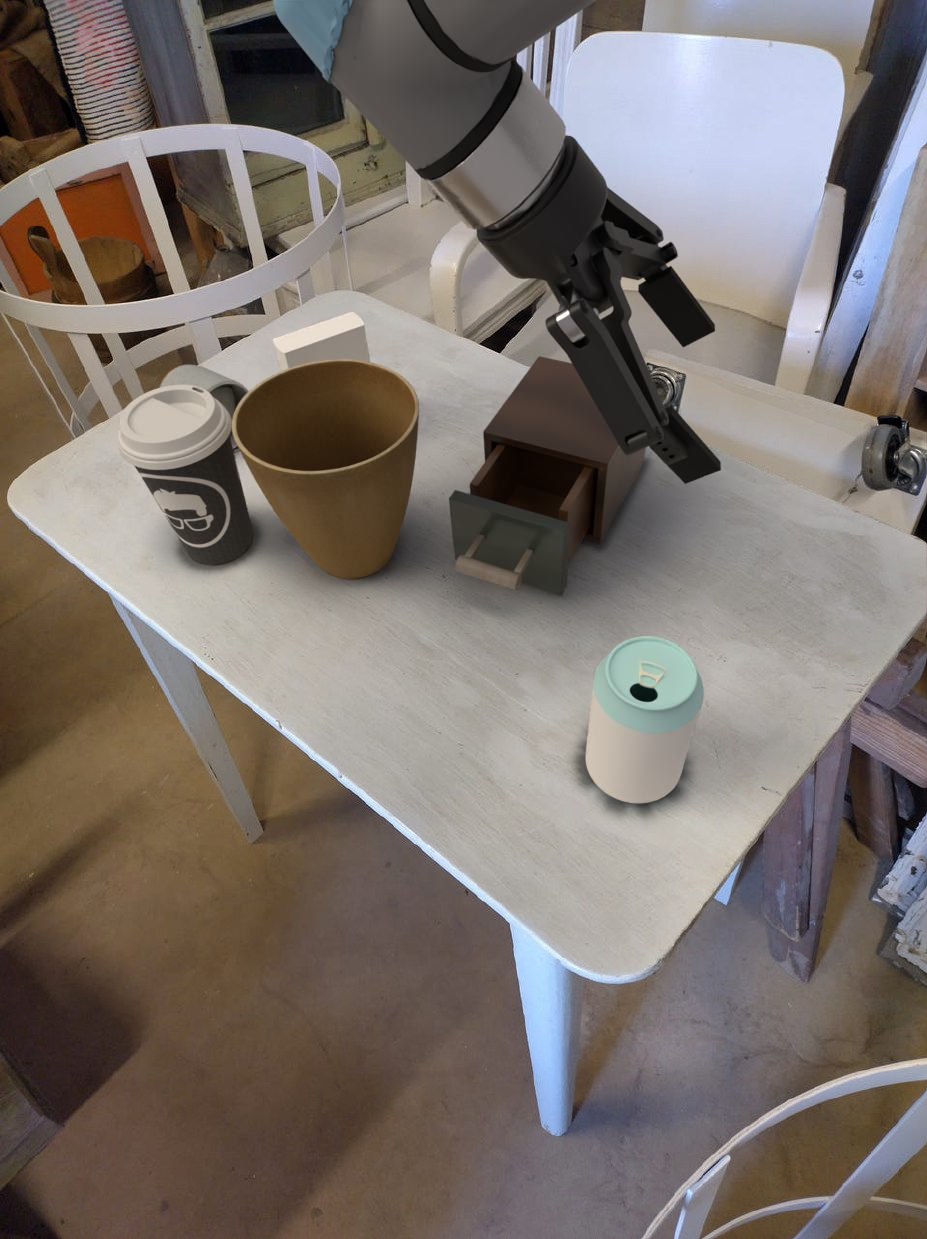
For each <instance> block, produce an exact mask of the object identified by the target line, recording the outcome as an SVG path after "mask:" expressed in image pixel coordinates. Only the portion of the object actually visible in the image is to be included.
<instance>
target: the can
mask: <svg viewBox="0 0 927 1239" xmlns="http://www.w3.org/2000/svg"><path fill="white" fill-rule="evenodd" d="M593 676H594V677H593V683H592V692H591V700H590V701H591V702H590V711H589V718H588V729H587V738H586V748H585V765H586V769H587V772H588V775H589V776H590V778H591V780H592V781H593V782H594V784H595V785H596V786H597V787H598V788H599V789H600V790H601V791H603V792H604V794H606V795H608V796H610V797H612V798H614V799H616V800H618V801H622V802H625V803H629V804H630V803H631V804H647V803H648V804H649V803H652V802H655V801H659V800H661V799H662V798H664V797H666V796H667V795H668V794H670V793H671V792H672V791H673V790H674V789H675V788H676V786H677V785H678V783H679V781H680V779H681V777H682V773H683V769H684V766H685V762H686V759H687V756H688V753H689V750H690V749H689V748H690V746H691V744H692V739H693V736H694V732H695V730H696V725H697V722H698V719H699V716H700V712H701V709H702V705H703V702H704V697H705V696H704V694H705V691H704V690H705V688H704V684H703V680H702V677H701V675H700V672H699V671H698V668H697V666H696V663H695V661H694V659H693V658H692V656H691V655H690V654H689V653H688V652H687V651H686V650H685V649H684V648H683V647H682V646H681V645H678V644H677V643H675V642H673V641H671V640H669V639H667V638H663V637H659V636H653V635H643V636H642V635H640V636H634V637H630V638H628V639H625V640H624V641H622V642H620V643H618V644H617V645H616V646H615V647H614V648H613V649H612V650H611V651H610V652H609V653H608V654H607V655H605V657H604V658H603V659H602V660H601V662H600V663H599V664H598V666H597V668H596V670H595V672H594V675H593Z"/></svg>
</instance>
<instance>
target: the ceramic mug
mask: <svg viewBox="0 0 927 1239" xmlns="http://www.w3.org/2000/svg"><path fill="white" fill-rule="evenodd" d="M171 385H192V386H197V387H200V388H202V389H204V390H206V391H208V392H209V393H210V394H211V395H212V396H213V398H215V399H217V400H218V401H219V402H220V403H221V404H222V405H223V406H224V407H225V409H226V410H227V411H228V413H229V414H230V416H231V419H233V415H234V412H235V410H236V408H237V406H238V404H239V402H240V401H241V400H242V398H243V397H244V396H245V395H246V394H247V393H248V392H249V391H250V390H249V389H248V388H247V387H245V385H243V384H242V383H240V382H239V381H237V380H235V379H232V378H229V377H228V376H225V375H223V374H221V373H218V372H217V371H213V370H211V369H209V368H206V367H204V366H202V365H195V364H182V365H179V366H176V367H174V368H172V369H171V370H170V371H168V373H166V374H165V375H164V377H163V379H162V380H161V382H160V384H159V387H158V388H161V387H165V386H171ZM230 438H231V443H232V447H233V450H234V449H236V448H238V446H237V443H236V441H235V439H234V436H233V432H232V428H231V432H230Z"/></svg>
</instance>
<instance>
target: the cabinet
mask: <svg viewBox="0 0 927 1239" xmlns="http://www.w3.org/2000/svg"><path fill="white" fill-rule="evenodd" d="M653 382H654V384H655V385H656V382H655V381H654V380H653ZM482 433H483V434H482V436H483V437H482V438H483V451H484V452H483V454H484V462H485V461H486V460H487V459H488V457H489V456H490V454H491V453H492V452H493V450H494V449H495V447H496V446H497V445H498V443H502V444H506V445H510V446H514V447H518V448H522V449H526V450H529V451H533V452H537V453H541V454H545V455H549V456H552V457H556V458H560V459H564V460H568V461H572V462H575V463H579V464H583V465H587V466H591V467H595V468H598V479H597V491H596V503H595V515H594V520H593V522H592V524H591V526H590V528H589V529H588V531H587V533H586V535H585V537H584V538H583V541H588V542H591V543H595V544H596V545H597V544H598V545H601V544H602V542H603V540H604V538H605V536H606V535H607V532H608V531H609V528H610V527H611V524H612V523H613V521H614V519H615V517H616V515H617V514H618V511H619V510H620V508H621V506H622V504H623V502H624V501H625V498H626V497H627V495H628V493H629V491H630V489H631V487H632V485H633V483H634V482H635V480H636V478H637V476H638V474H639V472H640V470H641V469H642V467H643V464H644V462H645V455H646V448H647V447H646V448H644V449H642V450H640V451H637V452H635V453H633V454H631V455H626V454H624V452H623V451H622V449H621V447H620V446H619V444H618V442H617V440H616V439H615V437H614V435H613V434H612V432H611V430H610V428H609V427H608V425H607V423H606V421H605V420H604V418H603V416H602V414H601V413H600V411H599V409H598V407H597V406H596V404H595V402H594V401H593V399H592V397H591V395H590V394H589V392H588V390H587V388H586V387H585V385H584V383H583V381H582V380H581V378H580V376H579V374H578V373H577V371H576V369H575V368H574V366H573V364H572V362H569V361H563V360H557V359H554V358H550V357H544V356H540V355H539V356H537V358H536V359H535V361H534V362H533V363H532V365H531V366H530V367H529V369H528V370H527V371H526V373H525V374H524V375H523V377H522V379H521V380H520V381H519V382H518V384H517V385H516V386H515V387H514V389H513V391H512V392H511V393H510V394H509V396H508V397H507V398H506V400H505V402H504V403H503V404H502V405H501V406H500V408H499V409H498V411H497V412H496V414H494V416H493V418H492V419H491V420H490V422H489V423H488V424H487V426H486V427H485V428H484V430H483V432H482Z"/></svg>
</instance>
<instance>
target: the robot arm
mask: <svg viewBox="0 0 927 1239" xmlns="http://www.w3.org/2000/svg"><path fill="white" fill-rule="evenodd" d="M595 2H597V0H272V5H273V9H274V11H275V14H276V17H277V18H278V20H279V21H280V23H281V24H282V25H283V27H284V28H285V29H286V30H287V32H288V33H289V34H290V36H292V38H293V39H294V40H295V41H296V43H297V44H298V45H299V47H301V49H302V50H303V51H304V53H305V54H306V55H307V56H308V57H309V59H310V60H311V61H312V63H313V64H314V65H315V67H317V68H318V70H319V72H320V73H321V74H322V78H323V79H324V80H325V81H326V82H327V83H328V84H332V85H333V86H334V88H336V89H337V90H338V91H339V92H340V93H341V94H342V95H343V96H344V97H345V98H346V99H347V101H349V103H351V104H352V105H353V106H354V108H355V109H356V110H357V111H358V112H359V113H360V114H361V115H362V116H363V117H364V118H365V119H366V121H368V122H369V123H370V124H371V126H372V127H373V128H374V129H375V130H376V131H377V132H378V134H380V136H382V137H383V139H385V140H386V142H388V143H389V145H390V146H391V147H392V148H393V149H394V150H395V151H396V152H397V153H398V154H399V156H401V158H402V159H404V160H405V162H406V163H407V164H408V165H409V166H410V167H411V168H412V169H413V170H414V171H415V173H416V174H417V175H418V176H419V177H420V178H421V179H423V180H424V181H425V182H426V183H427V184H426V185H427V188H428V191H429V192H430V194H432V195H433V196H438V197H439V198H440V199H441V200H442V202H444V203H445V204H446V205H447V207H449V209H450V210H451V211H452V212H453V213H454V214H455V215H456V217H458V218H459V220H461V222H462V223H463V224H464V225H465V226H466V227H467V228H468V229H472V230H476V237H477V240H478V242H479V243H480V244H481V245H482V246H483V247H484V248H485V249H486V250H487V252H488V253H490V254H491V256H492V257H493V258H494V259H495V260H496V261H497V262H498V264H500V265H501V266H502V267H503V269H504V270H505V271H506V272H507V273H508V274H509V275H511V276H512V277H513V278H516V279H521V280H528V279H529V280H530V279H533V280H535V279H536V280H542V281H544V282H546V285H547V286H548V288H549V289H550V290H551V292H552V294H553V296H554V297H555V299H556V301H557V303H558V304H559V307H558V311H556V312H555V313H553V314H552V315H550V316H549V317H547V318H545V320H544V321H545V327H546V330H547V332H548V333H549V335H550V336H551V337H552V338H553V340H554V341H555V342H556V343H557V344H558V345H559V347H560V348H561V349H562V350H563V351H564V353H565V354H566V356H567V357H568V359H569V360H570V363H572V364H573V366H574V368H575V369H576V371H577V373H578V374H579V376H580V378H581V380H582V381H583V383H584V385H585V387H586V388H587V390H588V392H589V394H590V395H591V397H592V399H593V401H594V402H595V404H596V406H597V407H598V409H599V411H600V413H601V414H602V416H603V418H604V420H605V421H606V423H607V425H608V427H609V428H610V430H611V432H612V434H613V435H614V437H615V439H616V440H617V442H618V444H619V446H620V447H621V449H622V451H623V452H624V454H626V455H631V454H633V453H635V452H637V451H640V450H642V449H644V448H648V447H649V449H650V450H652V452H653V453H654V454H655V455H656V456H657V457H658V458H659V459H660V460H661V461H662V462H663V463H664V464H665V465H666V466H667V467H668V468H669V470H671V471H672V472H673V473H674V474H675V475H676V477H677V478H678V479H680V480H681V482H682V483H683V484H684V485H687V484H689V483H692V482H695V481H697V480H699V479H702V478H704V477H707V476H710V475H712V474H715V473H717V472H720V471H722V463H721V460H720V459H719V458H718V457H717V456H716V454H715V453H714V452H713V451H712V450H711V449H710V448H709V447H708V445H707V444H706V443H705V442H704V440H702V439H701V438H700V436H699V435H698V434H697V433H696V432H695V430H694V429H693V428H692V427H691V426H690V425H689V423H688V422H686V420H685V419H684V418H683V417H682V416H681V414H680V413H679V412H678V411H677V410H676V409H675V408H674V406H673V405H670V406H667V407H665V405H664V403H663V401H662V398H661V396H660V394H659V391H658V389H657V387H656V383H655V384H654V382H653V381H654V380H653V377H652V375H651V373H650V370H649V368H648V365H647V363H646V361H645V358H644V356H643V354H642V351H641V350H640V347H639V344H638V343H637V340H636V338H635V335H634V332H633V330H632V328H631V326H630V319H631V318H632V315H633V313H632V312H633V311H632V308H631V305H630V303H629V301H628V298H627V296H626V294H625V292H624V289H623V287H622V283H621V282H622V278H625V279H629V280H635V281H640V280H642V279H644V281H643V282H640V283H639V284H638V285H637V292H638V293H639V295H640V297H642V299H643V300H644V301H645V302H646V304H647V305H648V306H649V308H650V309H651V310H652V311H653V312H654V314H656V316H657V317H658V318H659V320H660V321H661V322H662V323H663V325H664V326H665V327H666V329H668V331H669V332H670V333H671V335H672V336H673V337H674V338H675V340H676V341H677V342H678V343H679V345H681V347H682V348H685V347H687V346H689V345H691V344H693V343H695V342H698V341H699V340H701V339H703V338H705V337H707V336H710V335H711V334H713V333H715V332H716V324H715V323H714V322H713V320H712V318H711V317H710V316H709V315H708V313H707V312H706V310H705V309H704V308H703V306H702V305H701V303H700V302H699V301H698V300H697V298H696V297H695V295H694V294H693V293H692V292H691V290H690V289H689V287H688V286H687V285H686V283H685V282H684V280H682V278H681V277H680V276H679V274H678V273H677V272H676V270H675V269H674V267H673V266H672V265H670V266H668V265H667V264H669V263H670V262H672V261H674V260H676V259H677V258H678V257H679V253H678V250H677V248H676V246H675V244H674V242H672V241H669V242H667V243H666V244H664V245H663V246H659V244H660V243H662V242H663V241H664V240H665V238H664V232H663V230H662V228H660V226H658V224H656V223H655V222H653V220H651V219H650V218H648V217H647V216H646V215H644V214H643V213H642V212H641V211H640V210H638V209H636V208H635V207H634V206H633V205H631V204H630V203H629V202H627V200H625V199H624V198H622V197H621V196H620V195H618V194H617V193H616V192H615V191H613V190H612V189H611V188H609V186H608V185H607V182H606V179H605V177H604V175H603V174H602V173H601V171H600V170H599V168H598V167H597V166H596V164H595V163H594V162H593V161H592V160H591V158H590V157H589V155H588V154H587V153H586V151H585V149H584V148H583V147H582V146H581V145H580V143H579V142H578V140H577V139H576V138H575V137H574V136H572V135H566V132H567V131H566V130H567V128H566V127H567V126H566V124H565V121H564V120H563V119H562V117H561V116H560V114H558V112H557V110H555V108H554V107H553V106H552V104H551V103H550V101H549V100H548V99H547V98H546V96H545V95H544V94H543V92H542V91H541V90H540V88H539V87H538V86H537V85H536V83H535V82H534V81H533V79H532V78H531V77H530V75H528V73H527V72H526V70H525V69H524V67H522V66H521V65H520V64H519V62H518V61H517V60H516V58H515V57H516V55H518V54H520V53H521V52H522V51H524V50H525V49H527V48H529V47H530V46H531V45H532V44H534V43H535V42H537V41H539V40H541V39H542V38H543V37H544V36H546V35H547V34H549V33H551V32H552V31H553V30H554V29H556V28H557V27H559V26H561V25H562V24H564V23H565V22H566V21H568V20H570V19H571V18H572V17H574V16H575V15H577V14H578V13H579V12H581V11H582V10H585V9H586V8H587V7H588V6H590V5H593V3H595ZM611 308H612V311H611V312H610V313H609V314H607V315H605V316H604V317H602V318H600V315H601V314H603V313H604V312H606V311H607V310H609V309H611Z"/></svg>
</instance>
